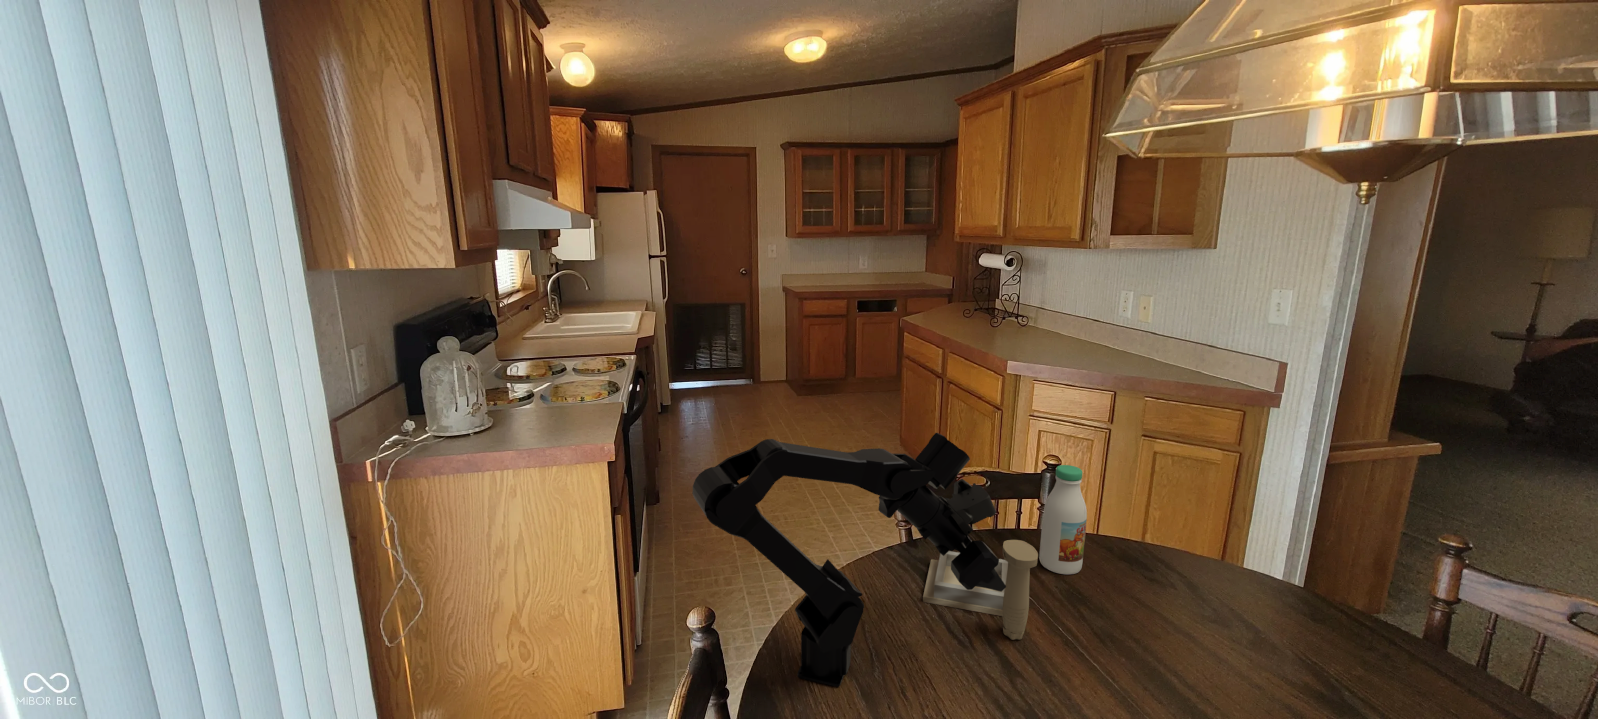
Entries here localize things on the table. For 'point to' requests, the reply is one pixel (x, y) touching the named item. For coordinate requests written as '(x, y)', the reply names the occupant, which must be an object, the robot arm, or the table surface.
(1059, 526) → the milk bottle
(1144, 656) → the table surface
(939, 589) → the board
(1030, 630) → the table surface
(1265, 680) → the table surface
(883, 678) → the table surface
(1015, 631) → the handle
